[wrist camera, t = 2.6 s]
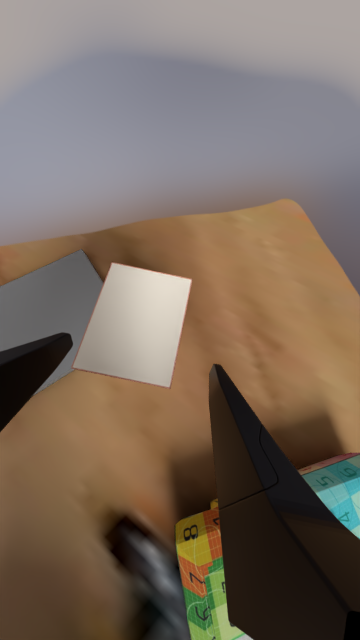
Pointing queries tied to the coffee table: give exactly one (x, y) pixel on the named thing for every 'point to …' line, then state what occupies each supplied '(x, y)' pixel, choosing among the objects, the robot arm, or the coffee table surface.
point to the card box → (135, 326)
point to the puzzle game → (206, 550)
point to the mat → (50, 306)
